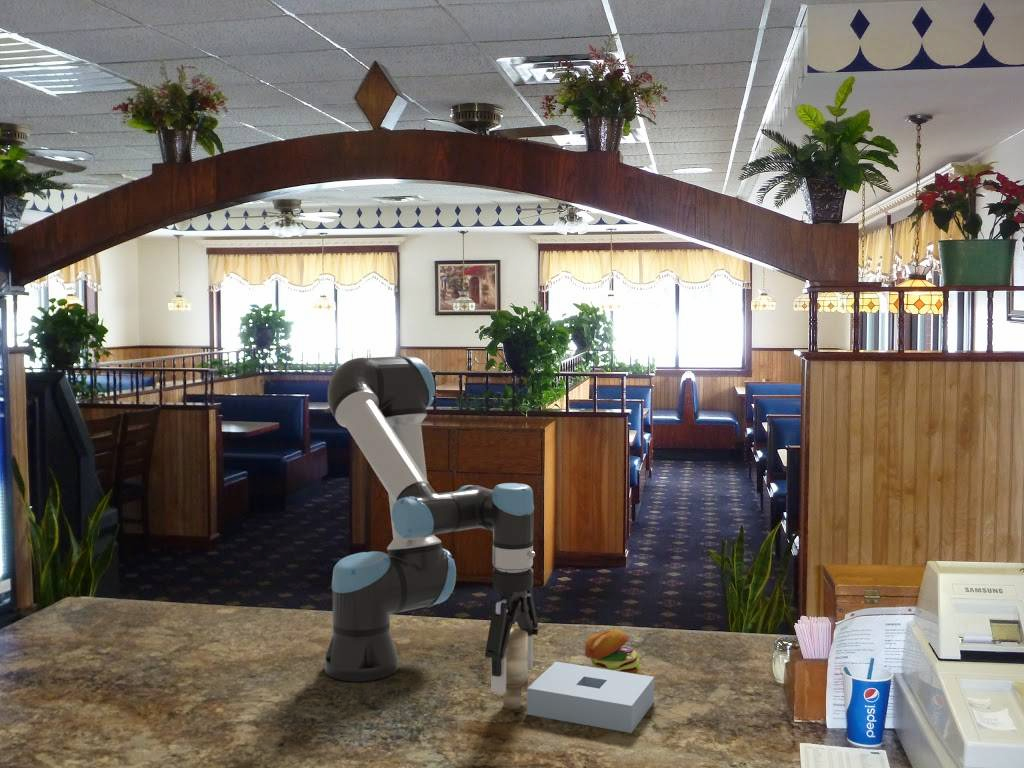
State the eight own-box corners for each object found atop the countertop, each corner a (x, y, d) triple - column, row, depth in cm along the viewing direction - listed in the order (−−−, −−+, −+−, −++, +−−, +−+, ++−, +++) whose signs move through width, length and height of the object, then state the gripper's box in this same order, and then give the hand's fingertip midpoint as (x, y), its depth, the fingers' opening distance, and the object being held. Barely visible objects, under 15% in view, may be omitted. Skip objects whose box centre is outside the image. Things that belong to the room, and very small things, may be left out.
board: (526, 714, 186) (527, 688, 186) (555, 686, 200) (555, 661, 200) (631, 733, 178) (631, 705, 178) (653, 702, 192) (654, 676, 192)
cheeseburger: (641, 683, 201) (629, 635, 201) (589, 691, 203) (577, 644, 203) (644, 665, 211) (633, 619, 211) (595, 673, 213) (584, 627, 213)
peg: (491, 709, 189) (492, 636, 187) (504, 697, 194) (504, 626, 193) (520, 714, 186) (520, 640, 185) (532, 702, 192) (532, 630, 190)
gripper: (505, 586, 175) (504, 706, 177) (555, 554, 198) (554, 661, 199) (466, 581, 178) (466, 699, 180) (519, 550, 201) (519, 655, 202)
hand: (512, 679), depth 190 cm, fingers open, 12 cm apart
